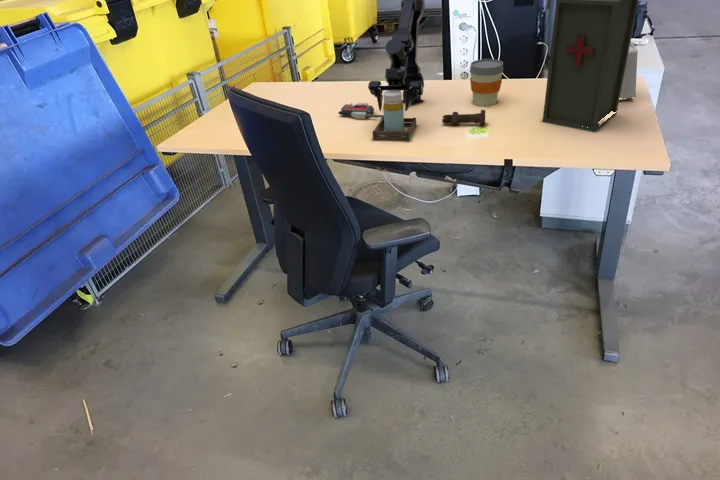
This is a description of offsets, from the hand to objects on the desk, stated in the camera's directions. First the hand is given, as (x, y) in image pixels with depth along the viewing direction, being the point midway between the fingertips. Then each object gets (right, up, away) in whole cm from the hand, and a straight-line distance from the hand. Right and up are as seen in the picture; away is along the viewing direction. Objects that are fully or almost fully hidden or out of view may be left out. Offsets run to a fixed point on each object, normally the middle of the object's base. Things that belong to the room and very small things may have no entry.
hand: (392, 110), depth 180 cm
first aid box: (+66, -2, +3) cm, 66 cm away
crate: (+1, -6, +6) cm, 9 cm away
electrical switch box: (+83, +10, +19) cm, 86 cm away
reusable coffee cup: (+38, +9, +25) cm, 46 cm away
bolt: (+26, -3, +7) cm, 27 cm away
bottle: (+1, -7, +6) cm, 9 cm away
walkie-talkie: (-10, +4, +24) cm, 26 cm away
